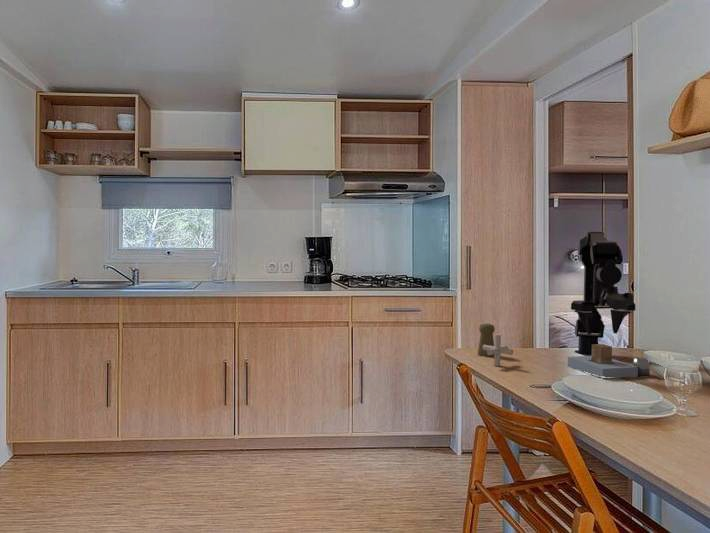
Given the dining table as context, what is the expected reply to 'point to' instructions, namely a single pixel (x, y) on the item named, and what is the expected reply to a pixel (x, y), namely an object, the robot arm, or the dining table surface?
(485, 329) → the dark green pepper mill
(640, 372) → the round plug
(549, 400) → the dining table surface
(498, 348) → the pipe connector
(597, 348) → the square peg
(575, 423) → the dining table surface
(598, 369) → the bore block
